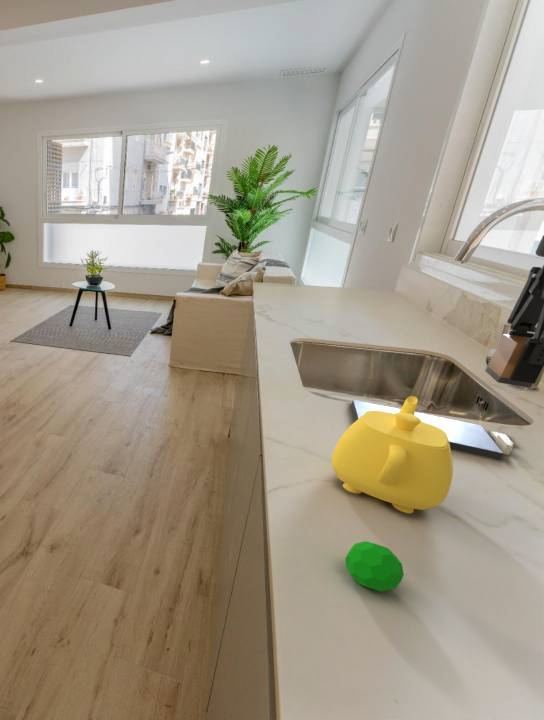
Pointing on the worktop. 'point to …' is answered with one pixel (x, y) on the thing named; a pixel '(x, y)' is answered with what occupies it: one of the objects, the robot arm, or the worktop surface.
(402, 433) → the teapot
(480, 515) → the worktop surface
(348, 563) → the polyhedron
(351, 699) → the worktop surface
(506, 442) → the white small block
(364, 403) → the slate board
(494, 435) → the white flat block
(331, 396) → the worktop surface
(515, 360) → the brown block
